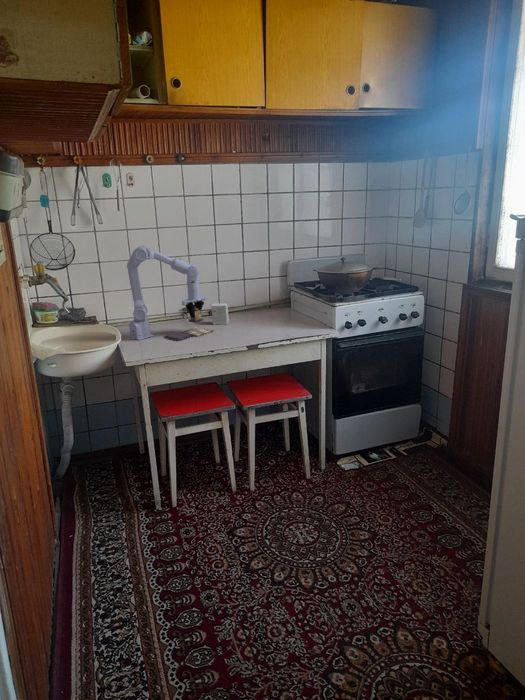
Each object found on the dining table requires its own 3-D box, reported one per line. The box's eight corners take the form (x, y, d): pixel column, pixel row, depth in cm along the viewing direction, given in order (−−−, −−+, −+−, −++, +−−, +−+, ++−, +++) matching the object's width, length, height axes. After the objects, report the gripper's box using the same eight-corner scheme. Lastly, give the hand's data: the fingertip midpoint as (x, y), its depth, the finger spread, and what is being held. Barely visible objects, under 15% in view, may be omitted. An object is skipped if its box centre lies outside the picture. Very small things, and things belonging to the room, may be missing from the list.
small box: (228, 322, 268) (227, 303, 265) (227, 324, 263) (226, 305, 260) (214, 322, 269) (213, 303, 266) (212, 324, 264) (211, 305, 260)
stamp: (195, 322, 245) (194, 309, 243) (189, 321, 248) (188, 308, 246) (203, 320, 249) (202, 307, 247) (196, 319, 252) (195, 306, 250)
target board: (197, 336, 242) (197, 335, 242) (179, 332, 250) (179, 331, 250) (214, 331, 250) (214, 330, 250) (195, 327, 259) (195, 326, 258)
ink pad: (178, 341, 236) (178, 339, 236) (163, 337, 243) (163, 335, 242) (192, 336, 243) (192, 334, 242) (177, 333, 249) (177, 331, 249)
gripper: (187, 293, 236) (190, 320, 240) (209, 288, 247) (211, 314, 251) (178, 291, 240) (180, 318, 245) (199, 286, 251) (201, 312, 255)
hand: (195, 316), depth 248 cm, fingers closed on stamp, 4 cm apart
